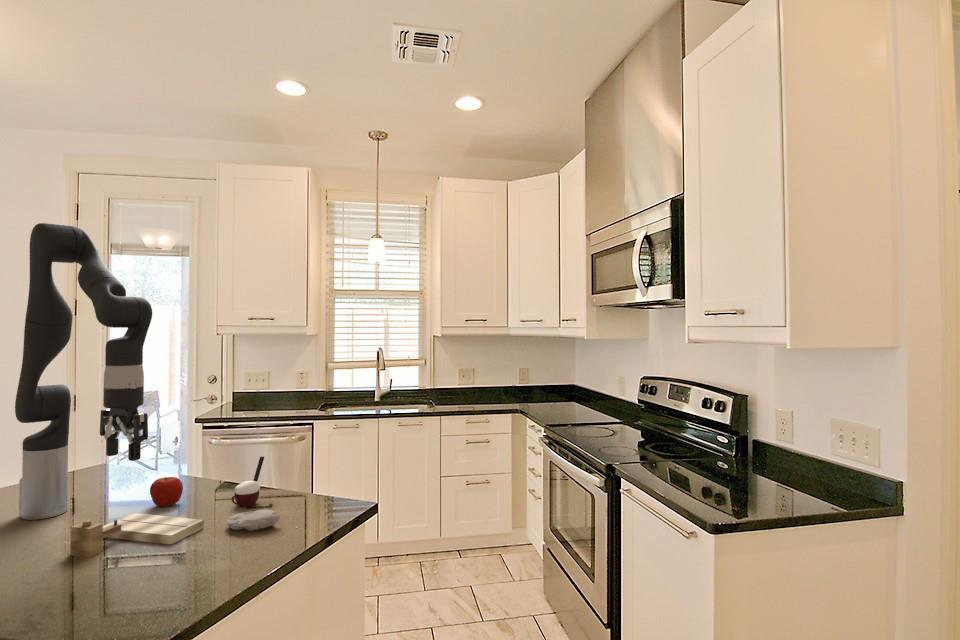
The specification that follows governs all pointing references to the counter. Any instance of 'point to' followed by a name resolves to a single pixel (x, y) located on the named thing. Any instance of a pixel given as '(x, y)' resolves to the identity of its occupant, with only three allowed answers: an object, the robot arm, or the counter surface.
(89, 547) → the block
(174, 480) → the apple
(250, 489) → the cocoa
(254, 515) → the fossil
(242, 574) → the counter surface
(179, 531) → the board
